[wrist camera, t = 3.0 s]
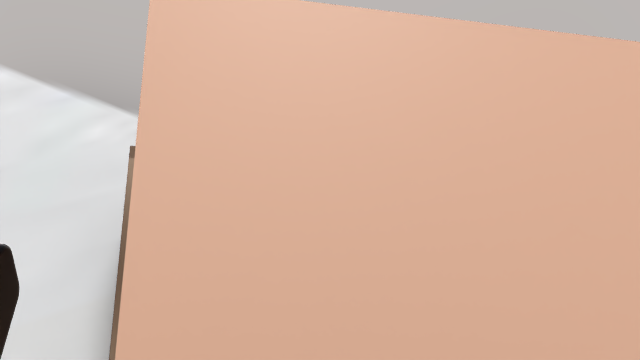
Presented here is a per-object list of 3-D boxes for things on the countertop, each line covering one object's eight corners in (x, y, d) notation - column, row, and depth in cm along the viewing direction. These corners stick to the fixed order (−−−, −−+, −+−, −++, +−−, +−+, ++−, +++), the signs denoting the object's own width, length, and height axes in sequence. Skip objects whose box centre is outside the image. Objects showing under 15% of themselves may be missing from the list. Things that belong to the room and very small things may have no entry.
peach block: (336, 365, 16) (716, 586, 4) (189, 366, 16) (86, 651, 3) (337, 223, 17) (645, 42, 5) (199, 217, 17) (151, -18, 4)
